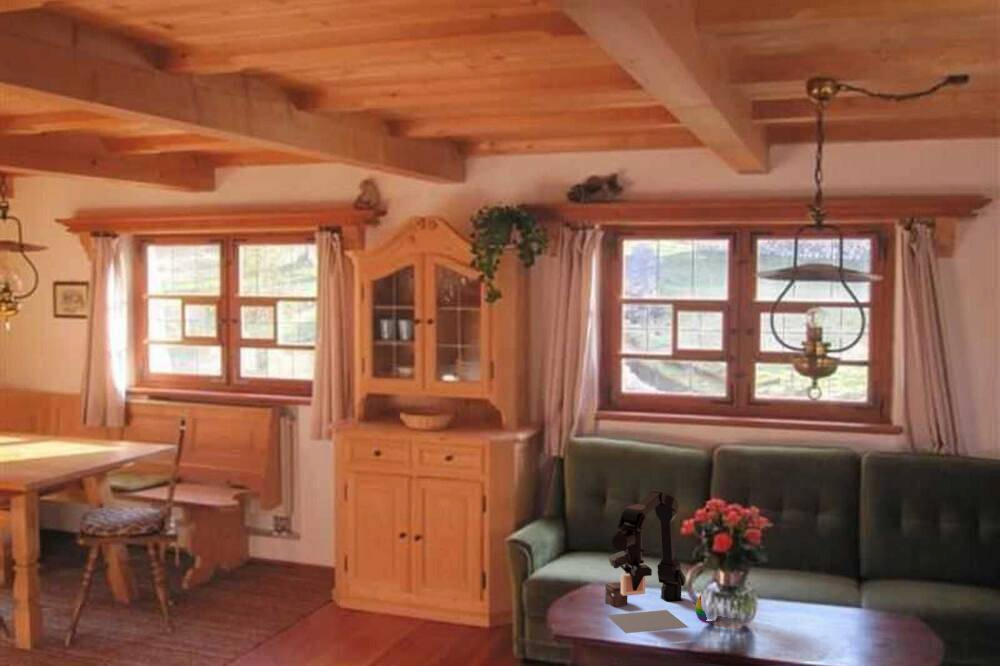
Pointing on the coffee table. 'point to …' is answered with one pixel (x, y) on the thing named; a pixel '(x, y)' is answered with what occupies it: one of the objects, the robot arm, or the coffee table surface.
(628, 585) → the plaque
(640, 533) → the robot arm
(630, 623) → the mat
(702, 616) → the decorative egg
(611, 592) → the box
